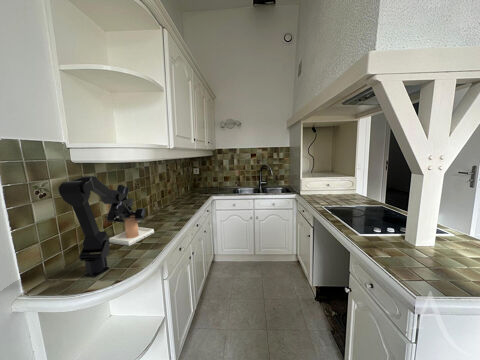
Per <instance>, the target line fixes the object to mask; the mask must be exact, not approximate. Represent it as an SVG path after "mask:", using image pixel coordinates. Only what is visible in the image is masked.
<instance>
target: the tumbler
mask: <svg viewBox="0 0 480 360" xmlns="http://www.w3.org/2000/svg"><path fill="white" fill-rule="evenodd" d="M124 221H125V222H124V229H125V230H124V231H126V238H135V237H137V236H139V231H138V227H139V224H138V223H139V221H136V219H135V216H129V218H124Z"/></svg>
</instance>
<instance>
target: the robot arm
mask: <svg viewBox="0 0 480 360" xmlns="http://www.w3.org/2000/svg"><path fill="white" fill-rule="evenodd" d="M57 190H58V194H59V195H60V197H61V198H62V200H63V201H64V202H65V203H67V204H68V205H70V206H71V207H72V210H73V211H74V215H75V216H76V219H77V221H78V223H79V226H80V229H81V231H82V234H83V235H84V238H83V241H82V249H81V251H80V253H79V257H78V258H79V261H81V262H82V261H84V265H85V272H84V273H83V275H84V276H88V277H92V278H96V277H98V276H99V275H101V274H104V273H105V272H106V271H108V270H109V269H111V268H110V267H109V266H108V265H109V264H108V258H107V256H108V255H109V254H110V244H111V243H110V242H109V238H110V237H109V236H108V233H107V231H105V230H104V231H103V230H102V231H100V228H99V226H98V223H97V221H96V219H95V215H94V213H93V209H92V207H91V205H90V202H89V199H90V196H91V192H93V193H94V194H96V196H97V195H98V196H99V197H100V201H101V202H102V203H103V204H105V205H110V208H109V210H108V212H107V215H106V221H108V222H110V223H121V224H125V221H124V218H129V216H135V219H136V221H138V223H142V220H144V219H145V216H146V209H145V208H143V207H141V208H140V207H139V208H136V209H135V210H133V205H134V200H133V198H128V196H129V192H130V188H129V187H128V186H125V185H123V184H118V186H117V189H116V190H115V189H111V188H109V187H108V186H106V185H105V184H104V183H102V182H101V180H100V179H98V177H97V176H94V175H86V176H84V175H83V176H81V177H78V178H76V179H72V180H68V181H63V182H61V183H60V185H58V189H57Z"/></svg>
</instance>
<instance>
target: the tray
mask: <svg viewBox="0 0 480 360" xmlns="http://www.w3.org/2000/svg"><path fill="white" fill-rule="evenodd" d="M138 231H139V236H137V237H135V238H126V230H124V231H123V232H121V233H119V234H116V235H114V236H111V237H108V238H109V239H108V240H109V242H110V244H115V245H121V246H127V247H128V246H131V245H134V244H136V243H138V242H139V241H141V240H143V239H145V238H147V237H149V236H151V235H153V234H155V230H154V228H148V227H142V226H141V227H139V226H138Z"/></svg>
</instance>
